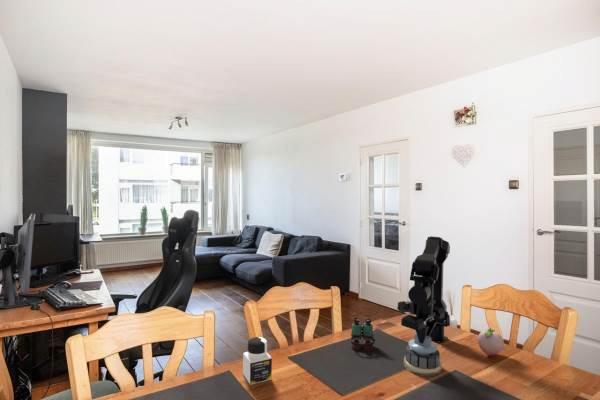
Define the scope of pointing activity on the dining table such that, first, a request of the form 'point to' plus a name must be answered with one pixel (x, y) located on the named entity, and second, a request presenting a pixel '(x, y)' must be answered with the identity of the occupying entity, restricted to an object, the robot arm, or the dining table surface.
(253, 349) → the medicine bottle
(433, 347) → the grey rounded piece
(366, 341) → the binoculars
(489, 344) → the decorative fruit
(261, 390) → the dining table surface
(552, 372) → the dining table surface
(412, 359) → the notched grey ring
